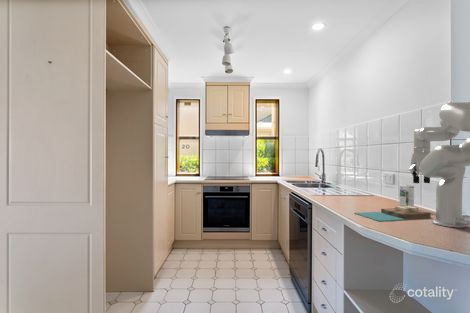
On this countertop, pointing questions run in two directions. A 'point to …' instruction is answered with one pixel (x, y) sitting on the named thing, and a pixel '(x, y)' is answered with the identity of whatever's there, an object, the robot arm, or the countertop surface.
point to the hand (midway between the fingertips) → (421, 182)
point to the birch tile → (406, 208)
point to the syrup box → (406, 195)
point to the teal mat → (379, 216)
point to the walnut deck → (406, 214)
